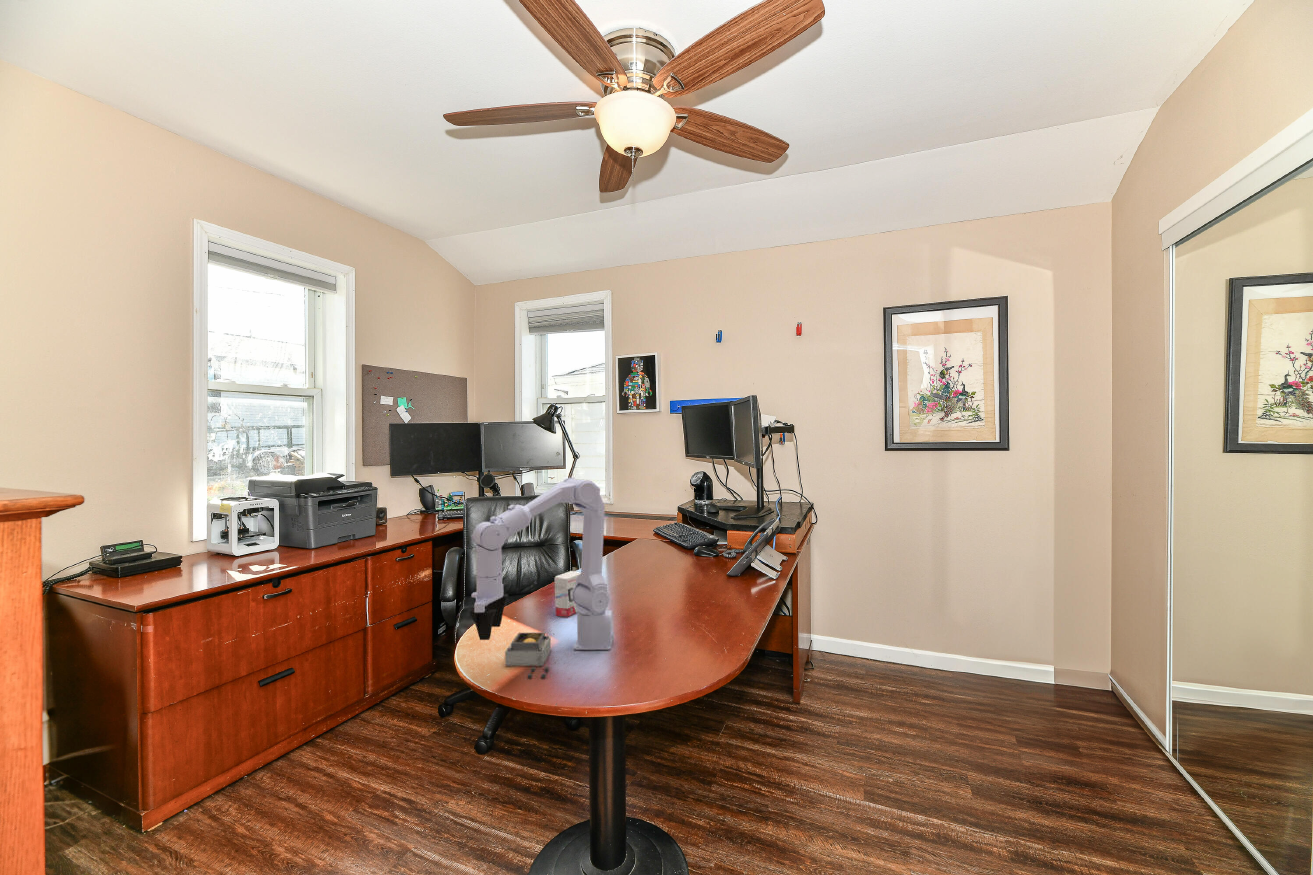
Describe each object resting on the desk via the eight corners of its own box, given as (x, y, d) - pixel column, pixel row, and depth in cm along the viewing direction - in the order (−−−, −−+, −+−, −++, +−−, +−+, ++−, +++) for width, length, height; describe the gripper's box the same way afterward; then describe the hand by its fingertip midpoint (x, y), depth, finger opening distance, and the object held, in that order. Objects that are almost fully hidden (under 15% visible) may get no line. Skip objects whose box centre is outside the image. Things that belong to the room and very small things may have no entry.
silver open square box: (550, 649, 137) (550, 630, 136) (542, 665, 128) (542, 645, 127) (516, 650, 137) (515, 630, 137) (505, 665, 128) (505, 645, 128)
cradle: (548, 670, 125) (548, 667, 125) (544, 678, 121) (544, 675, 121) (531, 670, 125) (531, 667, 125) (527, 678, 121) (527, 675, 121)
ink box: (567, 618, 159) (566, 579, 159) (554, 615, 162) (553, 577, 161) (584, 609, 167) (584, 572, 166) (572, 606, 169) (571, 570, 169)
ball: (528, 655, 135) (529, 639, 136) (540, 655, 133) (541, 638, 134) (517, 655, 131) (518, 638, 133) (529, 654, 130) (530, 637, 131)
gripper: (482, 566, 130) (483, 621, 130) (460, 583, 116) (461, 645, 116) (511, 565, 130) (512, 620, 130) (492, 583, 115) (493, 645, 116)
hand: (490, 632), depth 123 cm, fingers open, 7 cm apart
